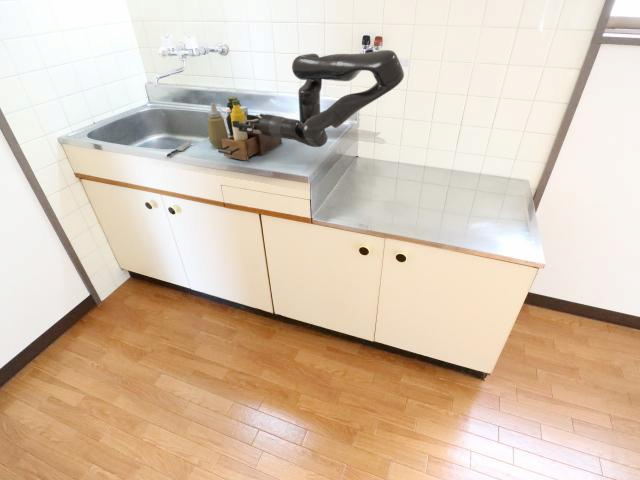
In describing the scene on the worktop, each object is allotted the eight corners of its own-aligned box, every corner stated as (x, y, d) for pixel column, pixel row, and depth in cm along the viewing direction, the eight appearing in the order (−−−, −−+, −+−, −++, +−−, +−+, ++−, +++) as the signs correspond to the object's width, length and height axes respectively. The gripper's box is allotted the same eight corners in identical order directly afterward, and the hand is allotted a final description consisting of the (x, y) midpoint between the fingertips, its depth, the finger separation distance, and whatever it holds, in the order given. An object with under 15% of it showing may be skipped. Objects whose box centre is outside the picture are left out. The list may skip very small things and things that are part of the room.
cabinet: (261, 155, 150) (259, 134, 145) (237, 150, 155) (234, 129, 150) (281, 143, 161) (280, 123, 156) (258, 139, 166) (256, 119, 161)
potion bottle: (251, 138, 167) (246, 96, 157) (239, 144, 161) (233, 101, 151) (237, 135, 170) (231, 94, 160) (225, 140, 165) (218, 98, 154)
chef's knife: (196, 141, 165) (190, 141, 165) (196, 139, 164) (190, 138, 164) (173, 158, 149) (166, 157, 150) (172, 155, 149) (165, 154, 149)
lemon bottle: (241, 148, 152) (234, 98, 140) (252, 150, 149) (245, 99, 138) (233, 152, 148) (225, 101, 137) (243, 154, 146) (236, 103, 135)
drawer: (237, 165, 140) (234, 148, 136) (214, 160, 144) (211, 143, 140) (266, 149, 153) (265, 132, 149) (245, 144, 158) (243, 128, 154)
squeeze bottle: (206, 146, 159) (198, 103, 149) (222, 141, 164) (215, 99, 154) (217, 151, 155) (209, 106, 145) (233, 145, 160) (226, 102, 149)
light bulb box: (243, 126, 180) (240, 104, 174) (251, 130, 176) (248, 106, 170) (223, 131, 175) (220, 108, 169) (230, 135, 171) (227, 111, 164)
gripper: (265, 142, 132) (229, 135, 138) (287, 130, 142) (252, 124, 149) (262, 121, 128) (226, 115, 134) (285, 110, 138) (250, 105, 144)
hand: (240, 120), depth 141 cm, fingers open, 8 cm apart
